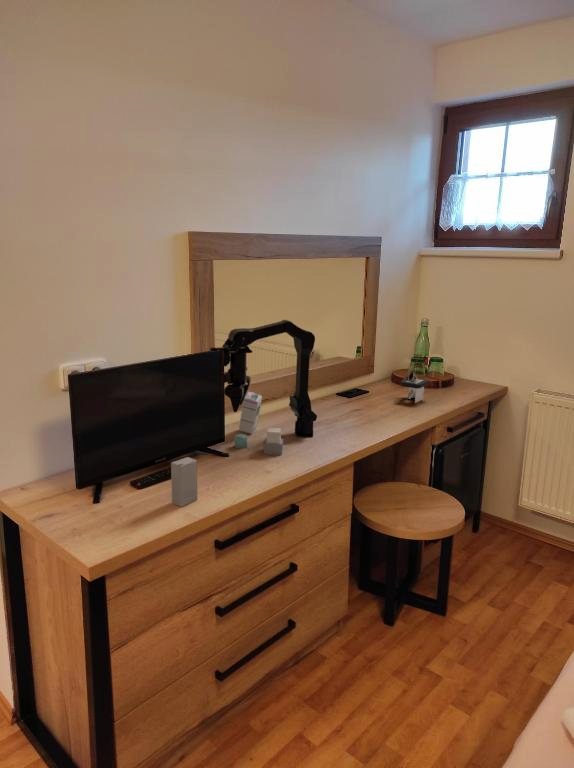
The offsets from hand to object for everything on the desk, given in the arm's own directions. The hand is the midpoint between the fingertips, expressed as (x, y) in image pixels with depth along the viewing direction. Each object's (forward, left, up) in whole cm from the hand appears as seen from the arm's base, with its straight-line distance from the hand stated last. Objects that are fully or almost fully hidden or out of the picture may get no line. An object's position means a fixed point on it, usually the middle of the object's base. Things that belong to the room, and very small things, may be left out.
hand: (237, 408), depth 206 cm
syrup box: (-2, -12, -12) cm, 17 cm away
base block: (-14, +8, -13) cm, 20 cm away
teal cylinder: (-2, +5, -13) cm, 14 cm away
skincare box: (+7, +51, -13) cm, 53 cm away
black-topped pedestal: (-72, -68, -13) cm, 100 cm away
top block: (-14, +8, -9) cm, 18 cm away
